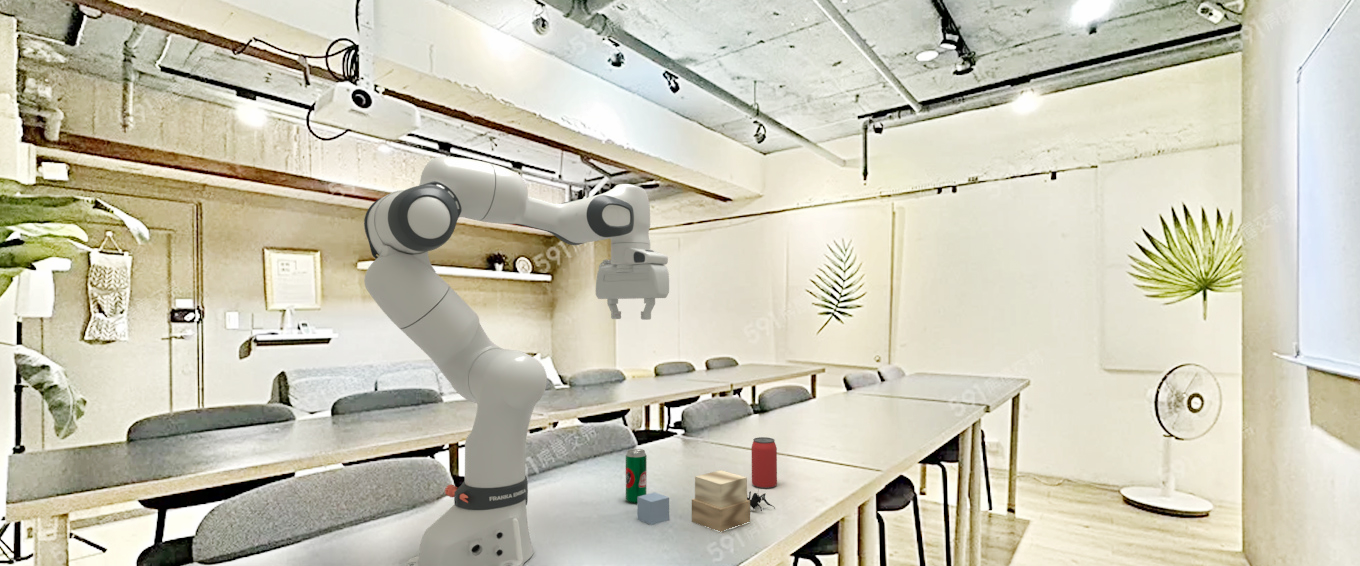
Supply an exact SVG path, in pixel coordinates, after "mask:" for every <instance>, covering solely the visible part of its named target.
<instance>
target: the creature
mask: <svg viewBox="0 0 1360 566" xmlns="http://www.w3.org/2000/svg"><path fill="white" fill-rule="evenodd" d="M759 487H760V486H759ZM759 490H760V488H758V490H757V491H759ZM751 493H752V490H750V491H749V492H748V494H749V495H748V496H747V500H750V507H751V508H752V509H753V510H756V508H757V507H759V508H760V512H762V510H763V508H762V507H761V506H760V503H761V502H762V501H763V502H764V503H765V504H766V505H768V506H769V507H772V508H775V506H774V505H772V504H771V503H770V502H768V501H767V500H766V493H763V494H761V495H759V492H757V493H756V492H754V493H753V494H752V495H751ZM751 496H752V497H751Z"/></svg>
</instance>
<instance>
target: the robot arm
mask: <svg viewBox="0 0 1360 566" xmlns="http://www.w3.org/2000/svg"><path fill="white" fill-rule="evenodd" d="M419 181H420V182H419V184H418V185H416V186H413V187H409V188H406V189H403V190H402V189H401V190H396V191H393V192H391V193H388V194H386V195H385V196H382V197H380V198H378V199H376V200H375V201H374V202H373V203H372V204H371V205H370V206H369V207H368V209H367V211H366V213H365V215H364V218H363V219H364V221H363V226H364V232H365V235H366V238H367V240H368V243H369V248H370V253H371V256H373V258H374V259H375V260H374V261H373V262H371V264H370V265H369V266H368V268H367V270H366V272H365V275H364V278H363V279H364V286H365V289H366V291H367V292H368V293H369V295H370V296H371V298H372V299H373V301H374V302H375V304H377V306H378V307H379V308H380V310H381V311H382V312H383V313H384V314H385V315H386V317H387V318H388V319H389V320H390V321H391V322H392V323H393V324H394V325H395V326H396V327H397V328H399V330H401V332H403V333H404V334H405V335H406V336H407V337H408V338H409V339H410V340H411V341H412V342H413V343H414V344H415V345H416V346H417V347H419V349H420V350H422V351H423V353H425V354H426V355H427V357H429V358H430V359H431V360H432V362H433V363H434V364H435V365H436V367H437V368H438V369H439V371H440V372H441V373H442V375H443V376H444V377H445V379H446V380H447V381H448V382H449V383H450V385H451V386H452V388H453V389H454V391H456V393H458V394H459V395H460V397H463V398H464V399H465V400H466V401H469V402H471V403H476V404H477V408H476V414H475V418H474V422H473V426H472V428H471V430H470V433H469V434H468V435H467V436H466V438H465V441H464V481H462V484H461V485H459V486H458V487H457V486H455V485H454V484H448V485H446V487H445V489H444V492H445V495H446V496H448V497H450V498H453V503H454V504H453V505H452V506H451V507H450V508H448V510H446V512H445V513H443V514H442V515H441V516H440V517H439V518H438V519H437V520H435V521H434V522H433V523H432V524H430V526H428V528H427V529H426V530H425V531H424V533H423V534H422V537H421V541H420V544H419V551H418V555H416V556H414V557H410V558H409V559H407V560H406V562H405V566H524V564H525V562H527V561H528V560H529V559H530V558H532V556H533V555H534V552H535V550H534V547H533V544H532V539H531V535H530V530H529V522H528V516H527V515H528V514H527V505H528V498H529V495H528V494H529V490H528V489H529V488H528V487H529V485H528V481H529V480H528V477H527V476H526V457H527V456H526V455H527V454H526V453H527V452H526V451H527V450H526V449H527V447H526V446H527V438H528V437H527V436H528V429H529V426H530V423H531V422H530V421H531V419H532V414H533V412H534V408H535V407H536V405H537V403H539V401H541V399H542V398H543V396H544V394H545V391H546V390H547V386H548V385H547V384H548V376H547V371H546V369H545V367H544V366H543V364H542V363H541V362H540V361H539V360H538V359H537V358H535V357H533V356H532V355H530V354H528V353H526V352H524V351H521V350H517V349H509V348H505V349H504V348H502V347H500V346H498V345H496V344H495V343H494V342H493V341H492V340H491V339H490V338H489V336H488V334H487V333H486V332H485V330H484V329H483V327H482V326H481V323H480V317H479V315H478V314H477V313H476V312H475V311H474V310H473V309H472V308H471V306H469V304H468V303H466V302H465V300H464V299H463V298H462V297H461V296H460V295H459V294H458V293H457V292H456V290H454V289H453V288H452V287H451V286H450V284H448V283H447V282H446V281H445V280H444V279H443V278H442V277H441V276H440V275H439V274H438V273H437V271H436V270H435V268H434V267H433V265H432V263H431V260H430V256H429V252H430V251H434V250H437V249H439V248H441V247H442V246H443V245H445V244H446V243H447V242H448V241H449V240H450V238H451V237H452V235H453V233H454V231H455V229H456V226H457V222H458V221H459V220H458V219H459V218H463V219H464V218H465V219H468V220H473V221H477V222H483V223H491V224H500V225H504V224H505V225H512V224H515V225H520V226H524V227H529V228H532V229H537V230H540V231H544V232H547V233H550V234H551V235H553V236H554V237H556V238H557V239H559V240H560V241H562V243H565V244H567V245H569V246H580V245H583V244H587V243H591V242H598V241H605V240H610V259H603V260H602V262H600V264H599V265H598V271H597V273H596V279H595V280H596V282H595V296H596V298H597V299H599V300H606V302H607V307H608V308H609V311H610V319H611V320H620V319H621V318H622V311H619V308H618V304H619V300H620V299H622V300H624V299H625V300H626V299H628V300H629V299H630V300H631V299H632V300H634V299H635V300H636V299H643V303H644V304H645V306H644V308H643V310H642V311H640V319H641V320H644V321H645V320H651V319H652V311H653V309H654V307H655V305H656V299H666V298H667V297H668V295H669V293H670V276H669V275H670V274H669V270H668V267H667V266H666V265H667V264H668V261H669V257H668V255H667V254H665V253H661V252H658V251H656V250H653V249H651V240H650V235H649V231H650V227H651V207H650V206H651V205H650V200H649V196H648V192H647V190H646V189H644V188H643V187H642V186H639V185H636V184H631V183H619V184H617V185H615V186H614V187H613V188H612V189H610V190H607V191H606V192H603V193H600V194H597V195H593V196H588V197H585V198H582V199H576V200H571V201H569V200H568V201H566V202H565V201H564V202H561V203H554V202H550V201H546V200H544V199H539V198H536V197H533V196H530V195H529V192H528V187H527V184H526V182H525V180H524V179H523V177H522V176H521V175H520V174H519V173H517V172H515V171H514V170H510V169H509V168H507V167H504V166H500V165H497V164H494V163H491V162H490V163H489V162H487V161H483V160H482V161H481V160H477V159H471V158H467V157H466V158H465V157H457V156H456V157H455V156H436V157H435V158H433V159H430V160H429V162H427V163H426V165H425V166H424V168H423V169H422V172H421V175H420V179H419Z"/></svg>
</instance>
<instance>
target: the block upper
mask: <svg viewBox="0 0 1360 566" xmlns="http://www.w3.org/2000/svg"><path fill="white" fill-rule="evenodd" d="M747 497H748V477H747V476H743V475H740V474H736V473H732V472H728V471H724V470H722V469H720V470H717V471H716V470H715V471H713V472H712V471H711V472H709V473H705V474H700V475H696V476H694V499H695V500H697V501H700V502H703V503H706V504H709V505H712V506H715V507H718V508H721V509H722V508H725V507H728V506H731V505H735V504H738V503H741V502H744V501H747Z"/></svg>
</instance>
